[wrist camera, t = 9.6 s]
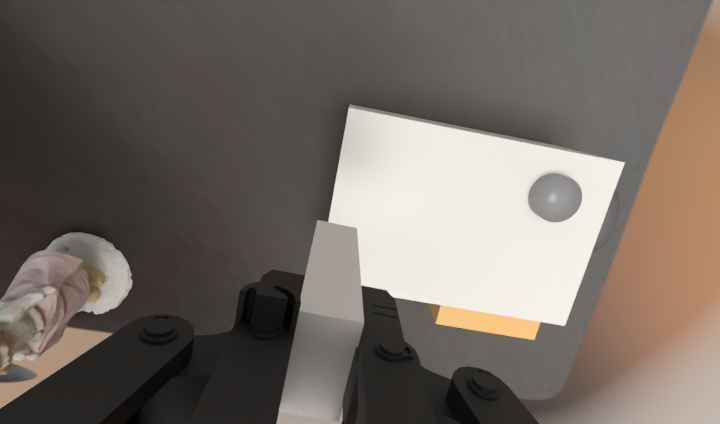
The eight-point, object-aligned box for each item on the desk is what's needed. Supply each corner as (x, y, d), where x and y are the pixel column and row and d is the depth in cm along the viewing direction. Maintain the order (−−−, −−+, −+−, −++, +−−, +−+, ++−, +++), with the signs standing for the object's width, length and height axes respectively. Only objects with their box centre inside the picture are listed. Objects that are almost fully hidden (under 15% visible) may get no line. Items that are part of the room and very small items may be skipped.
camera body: (325, 239, 38) (315, 294, 28) (349, 104, 35) (348, 108, 24) (537, 276, 40) (605, 342, 29) (580, 150, 36) (674, 172, 26)
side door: (420, 284, 39) (435, 324, 32) (426, 261, 38) (442, 297, 31) (502, 298, 39) (534, 340, 33) (509, 276, 39) (543, 314, 32)
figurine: (160, 338, 40) (-15, 467, 26) (83, 324, 43) (-111, 434, 29) (140, 231, 37) (-69, 315, 23) (58, 224, 40) (-170, 295, 26)
